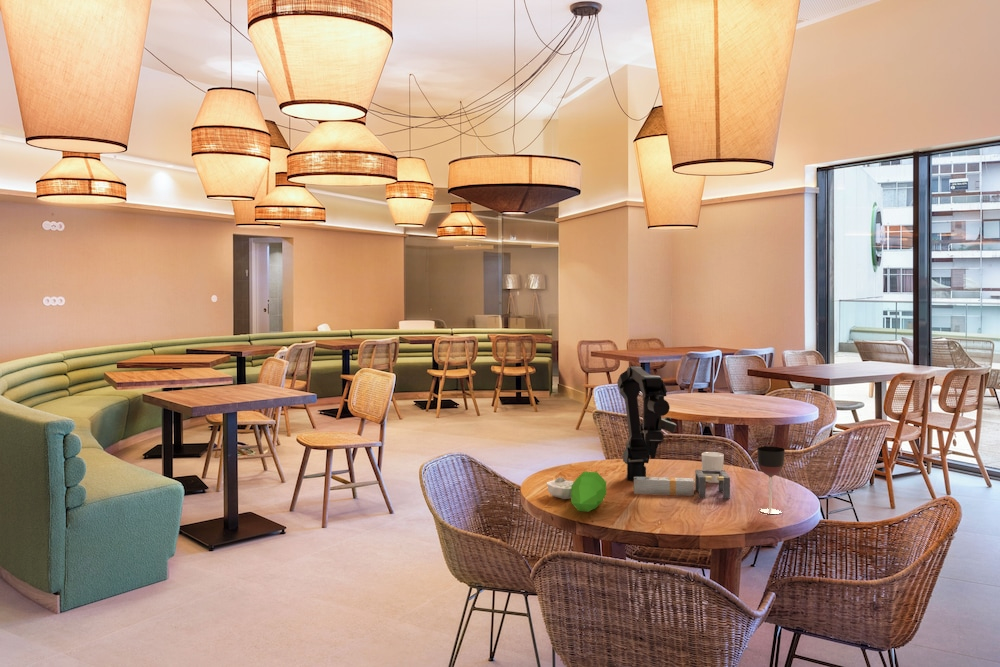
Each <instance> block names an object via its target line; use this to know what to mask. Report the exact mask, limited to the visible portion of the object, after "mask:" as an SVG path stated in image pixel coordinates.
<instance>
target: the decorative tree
mask: <svg viewBox="0 0 1000 667" xmlns="http://www.w3.org/2000/svg"><path fill="white" fill-rule="evenodd" d="M606 496H607V481H606V480H605V479H604V478H603V477H602V476H601V474H600V473H598V472H597V471H583V472H582V473H581V474H580V475H579V476H578V477H577V478H576V479H575V480H574V481H573V484H572V485H571V498H570V499H571V500H570V501H571V504H572V505H573V507H574V508H576V510H577V511H579V512H591V511H594V510H596V508H597V507H598V506H600V505H601V504H602V503H603V502H604V499H605V498H606Z"/></svg>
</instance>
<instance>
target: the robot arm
mask: <svg viewBox="0 0 1000 667" xmlns="http://www.w3.org/2000/svg"><path fill="white" fill-rule="evenodd" d="M617 388H618V390H619V394H620V395H621V397H622V399H624V403H625V412H626V420H627V430H628V436H629V437H628V439H627V441H626V443H625V449H624V452H623V455H622V462H623V463H624V464H626V481H634V477H647V466H646V465H645V464H649V462H650V460H651V459H653V460H654V459H655V458H656V454H657V450H658V447H659V445H660V444H661V443H662V442H663V441H664V439H665V437H664V436H665V434H664V433H663V432H662V430H664V431H667V432H669V433H671V434H674V433H675V431H676V428H677V424H676V423H675V422H673V421H672V418H671V417H668V416H666V415H667V414H668V413H670V412H669V411H670V408H671V407H670V403H669V402H668V401H667V400H666V399H665V397H667V389H666V388H667V387H666V385H665V383H664V380H663V378H662V377H661V376H660V375H657V374H650V373H648V372H647V371H645V370H644V369H643V367H641V366H629V367H627V369H626V370H625V371H624V372H622V373H621V374H620V375H619V377H618V379H617ZM640 392H641V394H642V395H641V396H642V416H641V417H642V422H641V417H640V410H639V400H638V397H639V394H640ZM663 416H666V417H665V418H662V417H663Z"/></svg>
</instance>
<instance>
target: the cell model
mask: <svg viewBox="0 0 1000 667" xmlns="http://www.w3.org/2000/svg"><path fill="white" fill-rule="evenodd" d="M573 482H574V481H573V480H569V479H565V478H564V477H561V476H558V477H557V478H555V479H554V480H553V479H552V480H550V481H547V482H546V486H547V491H548V493H549V494H550V495H551V496H553V497H555V498H559V499H561V500H567V499H569V500H570V499H571V485H572V484H573Z"/></svg>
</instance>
